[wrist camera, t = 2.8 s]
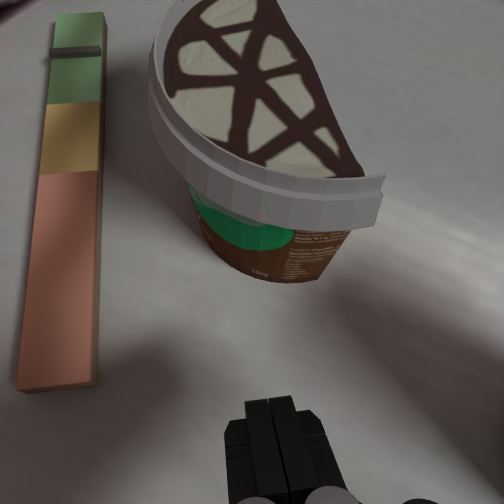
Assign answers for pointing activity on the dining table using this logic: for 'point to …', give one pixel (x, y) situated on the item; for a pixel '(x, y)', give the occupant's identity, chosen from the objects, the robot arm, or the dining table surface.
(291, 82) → the food container
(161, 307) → the dining table surface
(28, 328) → the strip
